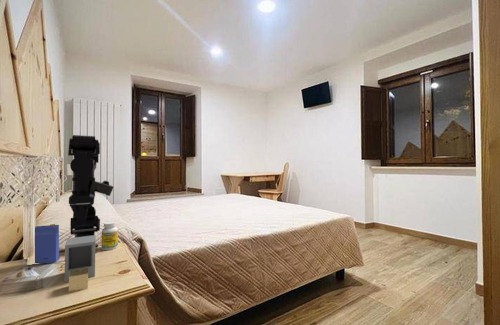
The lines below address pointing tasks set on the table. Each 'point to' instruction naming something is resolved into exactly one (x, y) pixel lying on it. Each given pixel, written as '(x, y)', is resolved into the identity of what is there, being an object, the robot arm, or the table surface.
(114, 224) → the supplement bottle
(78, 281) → the brass cube
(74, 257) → the grey hollow block
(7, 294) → the table surface
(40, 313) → the table surface
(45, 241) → the walkman
